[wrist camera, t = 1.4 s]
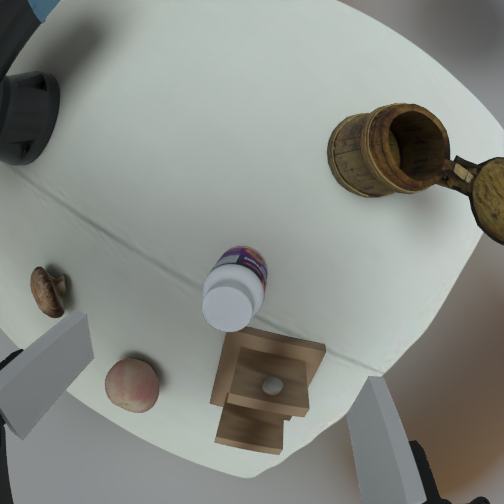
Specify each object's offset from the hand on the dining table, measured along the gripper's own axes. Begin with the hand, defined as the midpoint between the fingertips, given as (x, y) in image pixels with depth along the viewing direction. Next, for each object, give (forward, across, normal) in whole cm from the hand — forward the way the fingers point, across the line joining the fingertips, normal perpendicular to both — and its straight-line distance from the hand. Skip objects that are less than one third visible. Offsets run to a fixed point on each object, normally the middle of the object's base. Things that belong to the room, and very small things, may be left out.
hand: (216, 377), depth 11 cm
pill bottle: (+19, -1, -2) cm, 20 cm away
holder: (+19, +4, -16) cm, 26 cm away
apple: (+19, -13, -21) cm, 32 cm away
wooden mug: (+19, +12, +12) cm, 26 cm away
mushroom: (+19, -29, -11) cm, 36 cm away
